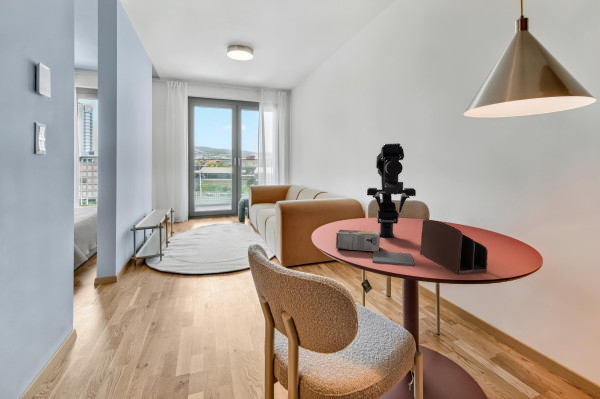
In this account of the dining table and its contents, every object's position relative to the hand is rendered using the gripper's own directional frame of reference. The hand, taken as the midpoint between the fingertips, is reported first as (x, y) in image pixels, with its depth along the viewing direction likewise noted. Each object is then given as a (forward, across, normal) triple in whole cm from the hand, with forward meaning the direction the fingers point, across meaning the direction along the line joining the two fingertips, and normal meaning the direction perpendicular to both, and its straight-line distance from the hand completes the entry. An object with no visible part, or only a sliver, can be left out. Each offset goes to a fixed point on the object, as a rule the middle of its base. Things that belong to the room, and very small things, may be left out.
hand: (390, 212), depth 117 cm
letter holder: (+13, +19, -20) cm, 30 cm away
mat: (+13, 0, -20) cm, 24 cm away
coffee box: (+10, -4, -11) cm, 15 cm away
